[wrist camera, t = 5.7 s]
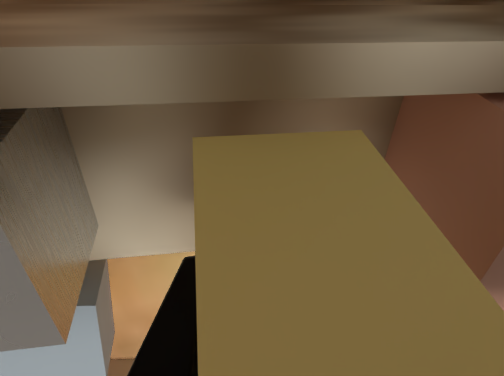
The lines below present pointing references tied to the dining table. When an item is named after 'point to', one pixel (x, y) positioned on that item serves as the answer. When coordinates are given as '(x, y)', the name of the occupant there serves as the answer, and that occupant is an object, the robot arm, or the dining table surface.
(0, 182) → the bookend
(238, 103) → the shelf tray
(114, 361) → the picture frame
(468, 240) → the salmon pink box
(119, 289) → the dining table surface
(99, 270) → the blue book lying
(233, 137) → the olive yellow block
